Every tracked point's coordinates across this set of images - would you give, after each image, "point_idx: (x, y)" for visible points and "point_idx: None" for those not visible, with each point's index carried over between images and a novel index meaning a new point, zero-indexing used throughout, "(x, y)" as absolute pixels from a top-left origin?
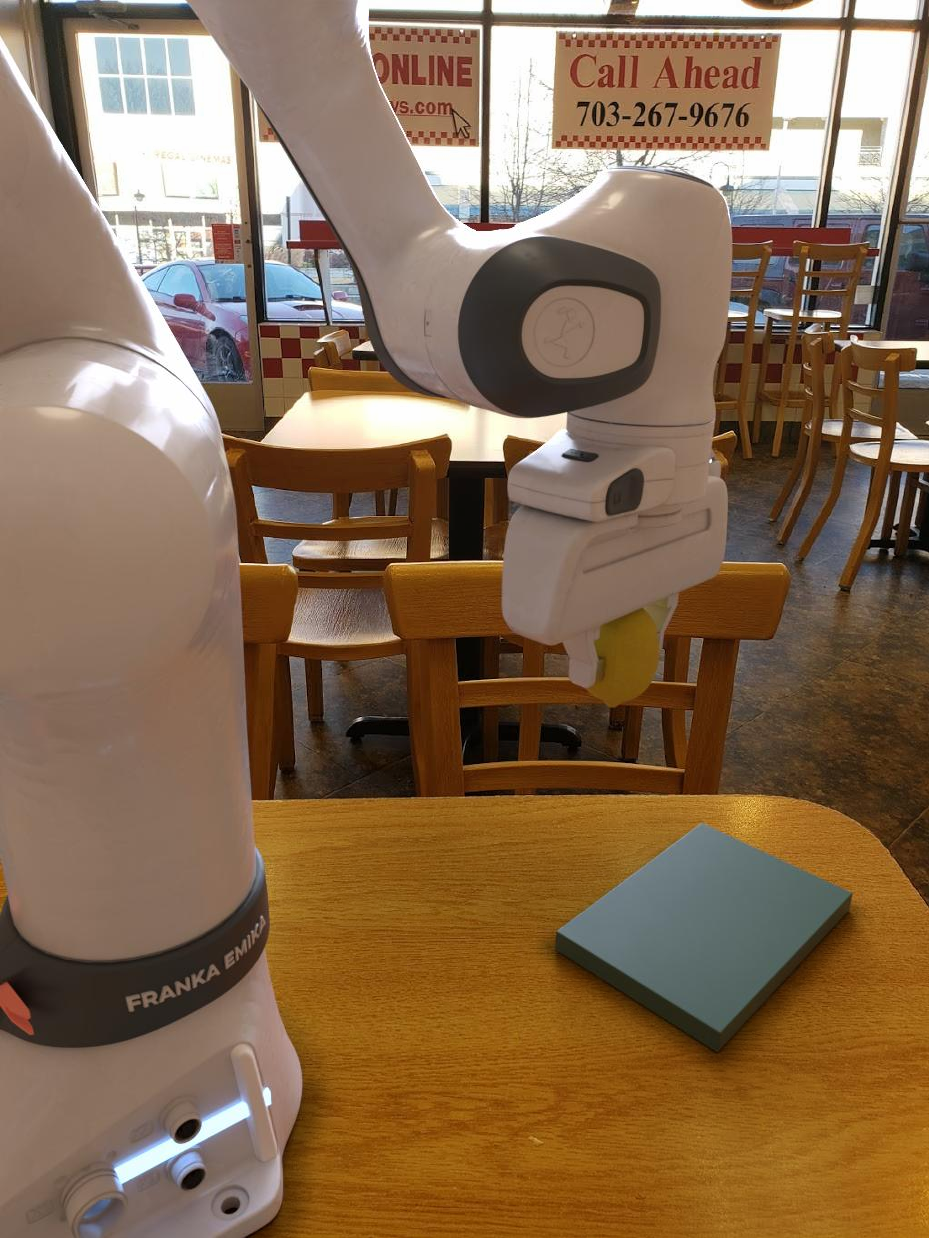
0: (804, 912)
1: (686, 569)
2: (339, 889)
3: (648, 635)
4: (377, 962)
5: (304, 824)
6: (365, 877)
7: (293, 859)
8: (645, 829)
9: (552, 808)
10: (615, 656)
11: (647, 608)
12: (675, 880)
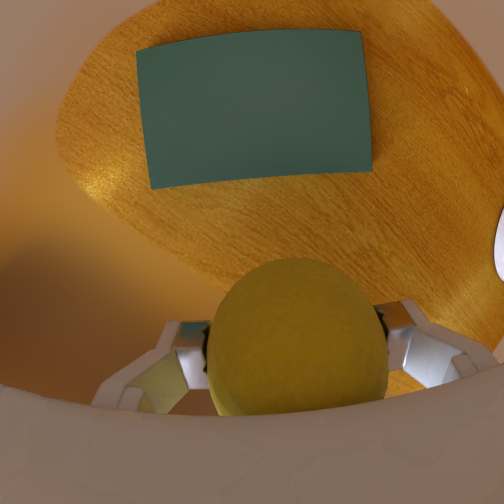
0: (189, 55)
1: (69, 457)
2: None
3: (311, 330)
4: (443, 240)
5: None
6: None
7: None
8: (184, 224)
9: None
10: (379, 323)
11: (158, 411)
12: (242, 146)
